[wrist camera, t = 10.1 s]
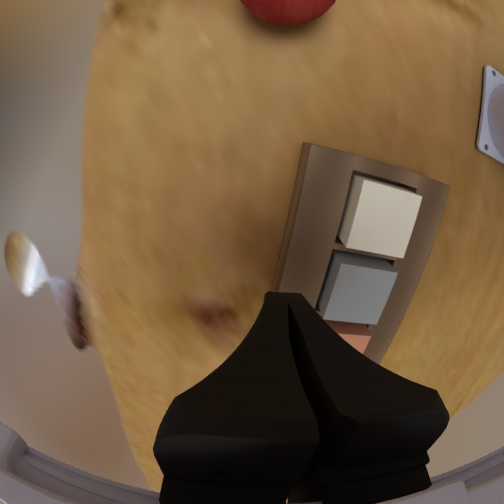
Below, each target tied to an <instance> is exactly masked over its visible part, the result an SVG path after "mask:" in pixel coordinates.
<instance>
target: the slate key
mask: <svg viewBox="0 0 504 504" xmlns="http://www.w3.org/2000/svg"><path fill="white" fill-rule="evenodd" d="M397 274H398V272H397V271H396V270H395V269H394V268H393V267H392V265H391V264H390V263H389V262H388V261H387V260H386V259H385V258H380V257H374V256H369V255H363V254H358V253H353V252H347V251H341V250H336V249H333V250H332V253H331V257H330V260H329V264H328V267H327V270H326V274H325V277H324V280H323V284H322V287H321V290H320V293H319V296H318V300H317V302H318V305H319V309H320V312H321V315H322V318H323V319H325V320H334V321H343V322H353V323H363V324H374V325H377V323H378V320H379V318H380V316H381V314H382V311H383V309H384V307H385V304H386V302H387V299H388V297H389V295H390V292H391V290H392V287H393V285H394V282H395V279H396V277H397Z"/></svg>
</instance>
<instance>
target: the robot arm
mask: <svg viewBox="0 0 504 504" xmlns="http://www.w3.org/2000/svg"><path fill="white" fill-rule="evenodd" d="M492 72H493V74H492ZM476 146H477V149H478V150H479V151H481V152H483V153H485V154H486V155H488V156H490V157H492V158H493V159H495V160H497V161H499V162H500V163H502V164H504V76H503V75H502V74H500V73H499V72H498V71H496V70H495V69H494V68H492V67H491V66H489V65H488V66H485V67H484V83H483V97H482V107H481V116H480V123H479V130H478V137H477V143H476ZM485 146H486V148H485ZM449 419H450V418H449V413H448V411H447V409H446V407H445V405H444V403H443V401H442V399H441V397H440V395H439V394H438V392H437V390H434V389H432V388H429V387H426V386H423V385H421V384H418V383H415V382H413V381H410V380H408V379H406V378H403V377H401V376H399V375H397V374H395V373H393V372H391V371H389V370H387V369H386V368H384V367H382V366H380V365H379V364H377V363H376V362H374V361H372V360H371V359H369V358H368V357H366V356H365V355H363V354H362V353H360V352H359V351H358V350H357V349H355V348H354V347H353V346H351V345H350V344H349V343H348V342H346V341H345V340H344V339H343V338H342V337H341V336H340V335H339V334H337V333H336V332H335V331H334V330H333V329H332V328H331V327H330V326H329V325H328V324H327V323H326V322H325V321H324V320H323V318H322V317H321V316H320V315H319V314H318V313H317V312H316V311H315V309H314V308H313V307H312V306H311V305H310V303H309V302H308V301H307V300H306V299H305V297H304V296H303V295H302V294H301V293H286V292H267V293H266V294H265V299H264V303H263V306H262V309H261V311H260V313H259V315H258V317H257V319H256V321H255V323H254V325H253V326H252V328H251V329H250V331H249V333H248V334H247V336H246V337H245V338H244V340H243V341H242V342H241V344H240V345H239V346H238V347H237V349H236V350H235V351H234V352H233V353H232V354H231V355H230V356H229V357H228V358H227V359H226V360H225V361H224V362H223V363H222V364H221V365H220V366H219V367H218V368H217V369H215V370H214V371H213V372H212V373H211V374H209V375H208V376H207V377H206V378H204V379H203V380H202V381H200V382H199V383H198V384H196V385H194V386H193V387H191V388H190V389H188V390H186V391H185V392H183V393H181V394H180V395H178V396H176V397H175V398H174V400H173V401H172V403H171V405H170V406H169V408H168V410H167V411H166V413H165V415H164V417H163V419H162V422H161V424H160V426H159V429H158V432H157V436H156V439H155V443H154V447H153V452H154V456H155V458H156V460H157V462H158V465H159V467H160V469H161V471H162V473H163V475H164V478H163V482H162V487H161V491H160V493H158V492H154V491H149V490H145V489H141V488H137V487H133V486H129V485H126V484H122V483H119V482H115V481H112V480H109V479H106V478H103V477H100V476H97V475H94V474H91V473H88V472H86V471H83V470H80V469H78V468H75V467H73V466H70V465H68V464H66V463H63V462H61V461H58V460H56V459H54V458H52V457H50V456H47V455H45V454H43V453H41V452H39V451H37V450H35V449H33V448H31V447H29V446H27V444H26V442H25V441H24V439H23V438H22V437H21V436H20V435H19V434H18V433H17V432H15V431H14V430H13V429H11V428H10V427H8V426H6V425H5V424H3V423H1V422H0V500H1V501H2V502H4V503H5V504H286V500H287V498H288V504H504V447H502V448H500V449H498V450H496V451H494V452H492V453H491V454H488V455H486V456H484V457H482V458H480V459H478V460H475V461H473V462H471V463H469V464H466V465H464V466H462V467H459V468H457V469H454V470H451V471H449V472H446V473H443V474H441V475H438V476H435V477H432V478H430V477H429V474H428V471H427V468H426V464H428V463H429V460H430V459H429V456H428V454H427V450H428V449H429V448H430V447H431V446H432V445H433V444H434V443H435V441H436V440H437V439H438V438H439V437H440V436H441V434H442V433H443V432H444V430H445V429H446V427H447V425H448V422H449Z"/></svg>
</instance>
